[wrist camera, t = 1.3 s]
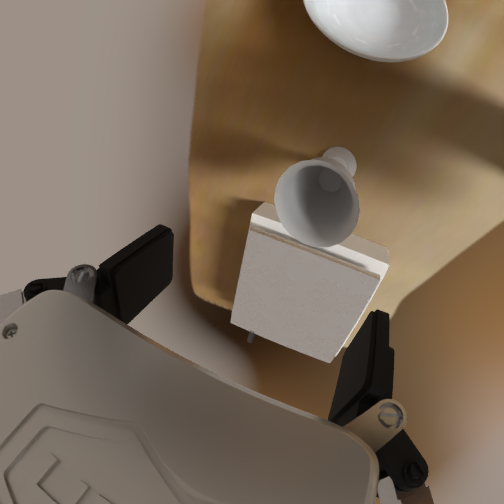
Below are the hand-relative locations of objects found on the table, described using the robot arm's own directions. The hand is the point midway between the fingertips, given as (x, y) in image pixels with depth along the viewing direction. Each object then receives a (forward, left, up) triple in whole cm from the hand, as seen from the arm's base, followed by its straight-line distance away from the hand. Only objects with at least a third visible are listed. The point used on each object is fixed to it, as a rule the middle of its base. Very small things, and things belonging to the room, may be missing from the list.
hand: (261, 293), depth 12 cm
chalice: (0, 0, -30) cm, 30 cm away
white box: (-1, +20, -28) cm, 34 cm away
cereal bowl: (0, -23, -30) cm, 38 cm away
